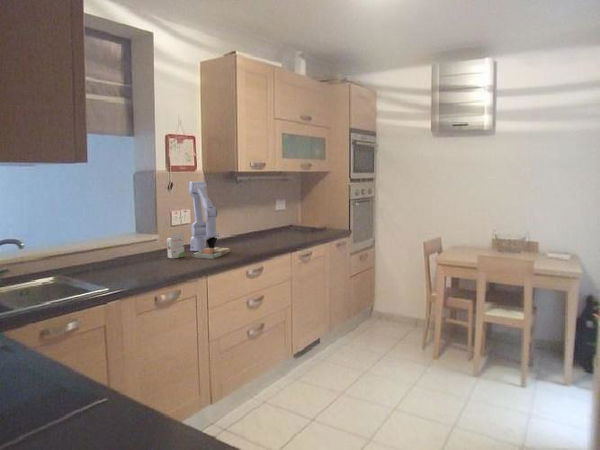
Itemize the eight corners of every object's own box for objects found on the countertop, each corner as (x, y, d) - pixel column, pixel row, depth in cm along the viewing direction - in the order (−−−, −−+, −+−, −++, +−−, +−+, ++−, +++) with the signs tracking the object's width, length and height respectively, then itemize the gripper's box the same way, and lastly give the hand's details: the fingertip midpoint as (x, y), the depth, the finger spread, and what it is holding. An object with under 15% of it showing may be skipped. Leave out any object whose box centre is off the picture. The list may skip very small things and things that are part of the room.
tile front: (201, 256, 264) (201, 253, 264) (205, 254, 269) (205, 251, 269) (208, 256, 263) (208, 253, 262) (213, 255, 267) (213, 252, 267)
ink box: (180, 255, 270) (179, 231, 268) (184, 256, 266) (183, 232, 264) (167, 257, 264) (166, 232, 262) (171, 258, 260) (170, 233, 258)
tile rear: (202, 252, 266) (202, 249, 266) (207, 250, 271) (207, 247, 270) (210, 252, 264) (210, 249, 264) (214, 251, 269) (214, 248, 269)
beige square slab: (202, 254, 273) (202, 250, 272) (212, 250, 284) (211, 247, 284) (220, 255, 269) (220, 251, 268) (230, 252, 280) (230, 248, 279)
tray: (192, 257, 264) (192, 253, 263) (201, 254, 273) (201, 250, 272) (213, 258, 259) (213, 255, 259) (221, 255, 268) (221, 252, 268)
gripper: (210, 229, 261) (211, 252, 263) (222, 226, 274) (223, 248, 276) (200, 229, 263) (201, 251, 265) (212, 226, 277) (213, 247, 278)
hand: (211, 249), depth 271 cm, fingers closed
